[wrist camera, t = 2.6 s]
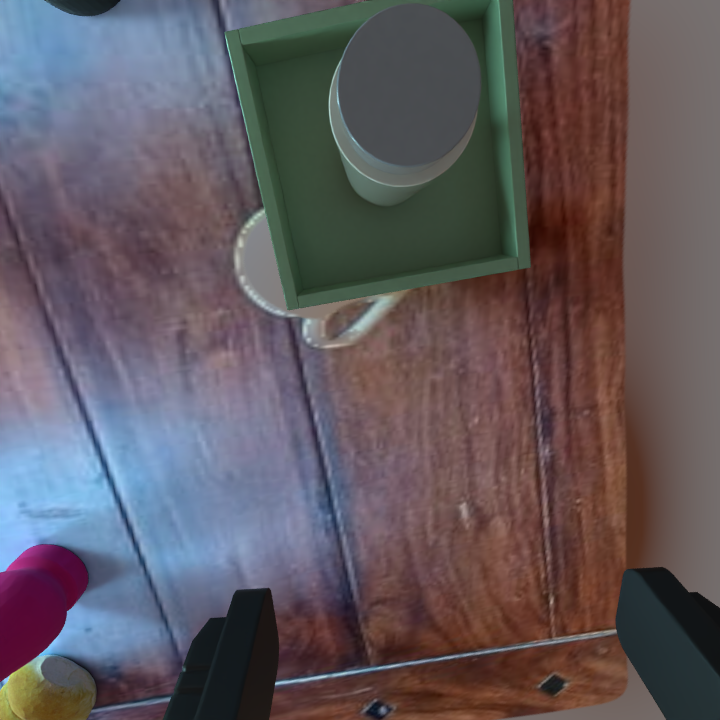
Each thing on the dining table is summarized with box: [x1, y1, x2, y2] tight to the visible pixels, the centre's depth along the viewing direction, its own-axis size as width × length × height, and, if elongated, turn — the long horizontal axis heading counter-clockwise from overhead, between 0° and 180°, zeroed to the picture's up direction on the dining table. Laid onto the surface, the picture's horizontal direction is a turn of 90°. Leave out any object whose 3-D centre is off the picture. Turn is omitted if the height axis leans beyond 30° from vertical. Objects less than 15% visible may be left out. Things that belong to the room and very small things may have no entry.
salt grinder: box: [329, 3, 481, 207], centre depth 21 cm, size 5×5×16 cm
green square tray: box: [225, 0, 531, 310], centre depth 27 cm, size 16×16×4 cm
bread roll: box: [0, 655, 97, 720], centre depth 41 cm, size 8×9×4 cm
